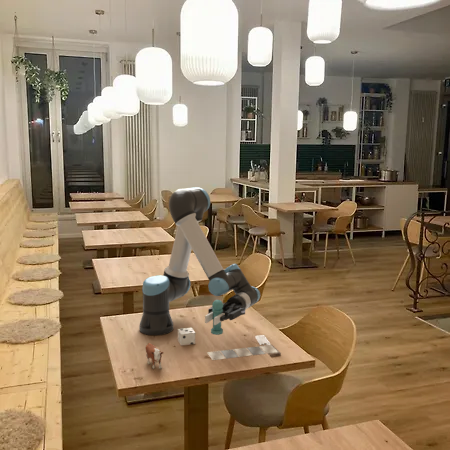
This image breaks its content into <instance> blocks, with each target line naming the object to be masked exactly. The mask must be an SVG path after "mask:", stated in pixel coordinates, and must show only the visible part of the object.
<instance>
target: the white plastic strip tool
mask: <svg viewBox="0 0 450 450" xmlns="http://www.w3.org/2000/svg"><path fill="white" fill-rule="evenodd" d="M254 338H255V340H256V341H257V343H258V344H259V346H264V345H272V343H271V342H270V341H269V340H268V338H267V337H266V335H265V334H258V335H255V336H254Z"/></svg>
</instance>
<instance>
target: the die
mask: <svg viewBox="0 0 450 450" xmlns="http://www.w3.org/2000/svg"><path fill="white" fill-rule="evenodd" d="M177 341H178V343H179V345H180V346H188V345H196V332H195V330H194V328H193V327H185V328H177Z"/></svg>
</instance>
